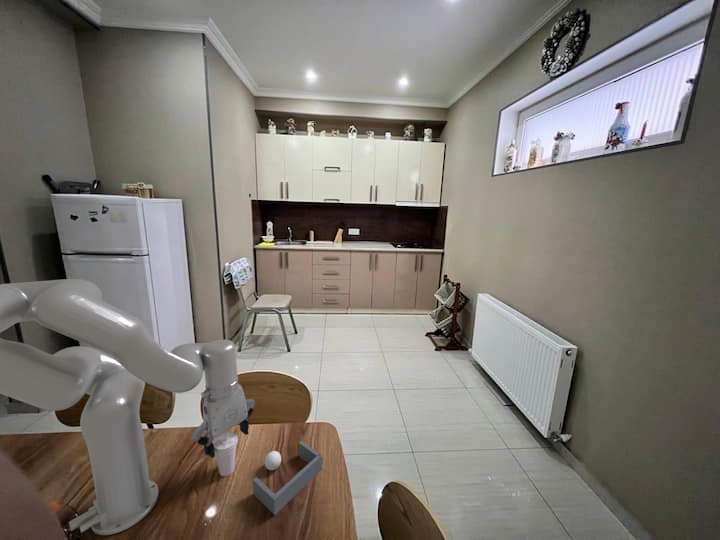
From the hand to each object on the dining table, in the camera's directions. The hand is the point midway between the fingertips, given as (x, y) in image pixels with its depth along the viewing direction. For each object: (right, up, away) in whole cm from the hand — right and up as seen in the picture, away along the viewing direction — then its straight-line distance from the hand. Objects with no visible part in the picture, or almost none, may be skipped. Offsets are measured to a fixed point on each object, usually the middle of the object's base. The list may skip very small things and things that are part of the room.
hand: (228, 443), depth 78 cm
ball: (+12, -6, +2) cm, 13 cm away
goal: (+17, -9, -2) cm, 20 cm away
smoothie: (-1, -9, +1) cm, 9 cm away
